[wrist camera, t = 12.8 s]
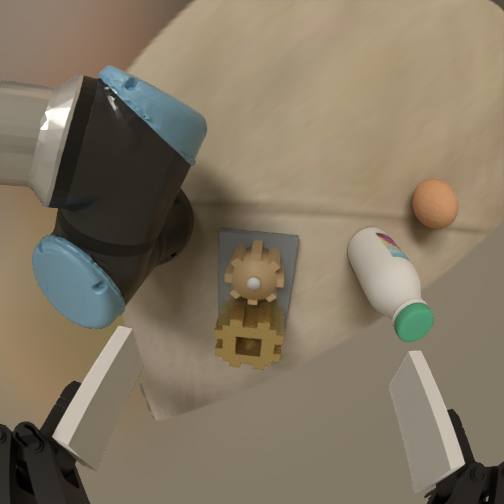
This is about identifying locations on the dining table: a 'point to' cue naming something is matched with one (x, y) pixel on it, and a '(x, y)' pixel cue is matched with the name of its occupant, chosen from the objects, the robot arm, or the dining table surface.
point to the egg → (435, 204)
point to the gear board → (268, 242)
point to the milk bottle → (390, 283)
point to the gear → (250, 332)
